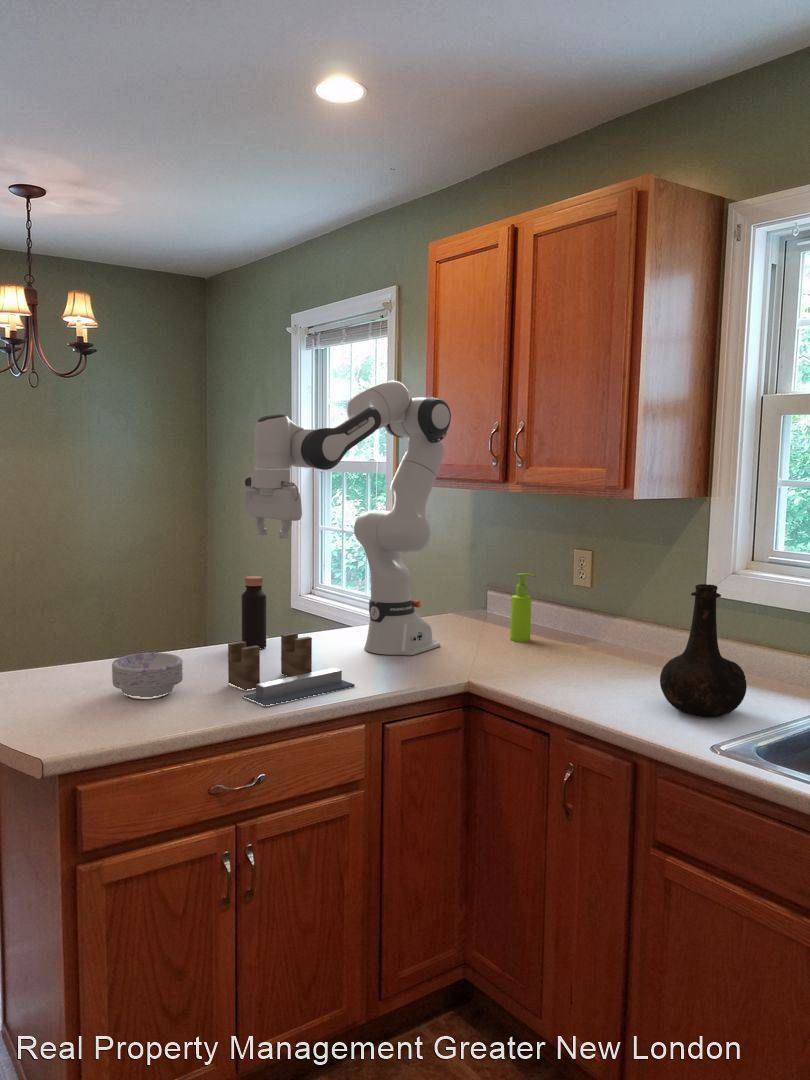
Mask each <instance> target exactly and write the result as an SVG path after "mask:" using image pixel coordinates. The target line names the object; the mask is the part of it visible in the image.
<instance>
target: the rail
mask: <svg viewBox="0 0 810 1080" xmlns="http://www.w3.org/2000/svg"><path fill="white" fill-rule="evenodd" d="M342 673H343V670H342V669H339V668H336V667H330V668H326V669H323V670H318V671H312V673H307V674H302V675H297V676H293V677H283V678H279V679H274V680H270V681H265V682H260V683H259V684H256V690H255V693H256V698H259V699H261V700H268V699H272V698H276V697H281V696H285V695H290V694H294V693H298V692H303V691H307V690H312V689H316V688H320V687H325V686H329V685H334V684H338V683H342V680H343V678H342V675H343V674H342Z"/></svg>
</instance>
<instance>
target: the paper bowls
mask: <svg viewBox="0 0 810 1080" xmlns="http://www.w3.org/2000/svg"><path fill="white" fill-rule="evenodd" d="M111 673H112V674H111V679H112V686H113V687H115V688H117V689H120V690H121V691H122V693H123V694H124V693H125V694H127V695H131V696H140V697H153V696H159V695H163V694H166V693H169V692H172V691H173V690H174V688H175V686H176V685H177V684H178V685H179V684H180V683H181V682H182V681H183V677H184V676H183V659H182V657H180V656H179V655H177V654H171V653H168V652H167V653H166V652H141V653H134V654H129V655H128V654H127V655H124V656H121V657H119V658H116V659H114V660H113V661H112V663H111ZM169 694H170V693H169Z"/></svg>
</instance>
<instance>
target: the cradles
mask: <svg viewBox="0 0 810 1080" xmlns="http://www.w3.org/2000/svg"><path fill="white" fill-rule="evenodd" d="M280 638H281V639H280V641H281V642H280V643H281V644H280V650H281V651H280V653H281V655H280V661H281V662H280V667H281V668H280V672H281V673H282V674H284V675H287V676H289V677H293V676H297V675H302V674H307V673H312V672H313V670H312V669H313V666H312V665H313V664H312V663H313V662H312V661H313V659H312V656H313V651H312V649H313V647H312V646H313V645H312V643H313V641H312V640H313V637H311V636H303V637H299V633H298V632H291V633H290V632H289V633H285V634H281V635H280ZM227 648H228V649H227V656H228V657H227V659H228V661H227V663H228V664H227V665H228V666H227V669H228V670H227V671H228V672H227V674H228V675H227V676H228V681H227V683H231V684H233V685H235V686H237V687H240V688H242V689H244V690H247V689H252V688H256V684H259V683H261V681H260V680H261V679H260V678H261V675H260V674H261V665H260V663H261V661H260V660H261V659H260V658H261V657H260V655H261V654H260V653H261V652H260V651H261V649H260V647H259V646H250V647H246V642H244V641H242V640H241V641H237V642H230V643H228V644H227ZM281 673H280V674H281ZM284 675H283V676H284ZM287 676H286V677H287Z"/></svg>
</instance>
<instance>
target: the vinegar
mask: <svg viewBox="0 0 810 1080" xmlns="http://www.w3.org/2000/svg"><path fill="white" fill-rule="evenodd" d="M263 579H264V577H263V576H260V575H259V576H258V575H251V576H250V575H248V576H245V577H244V585H245V588H246V589H245V591H244V592H243V593H242V594H241V641H244V642H246V647H250V646H259V647H260V648H263V649H265V648H266V647H267V594H266V593H265V592H264V591H263V590H262V589H263V584H264V583H263V582H264V581H263ZM264 647H265V648H264Z"/></svg>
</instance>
